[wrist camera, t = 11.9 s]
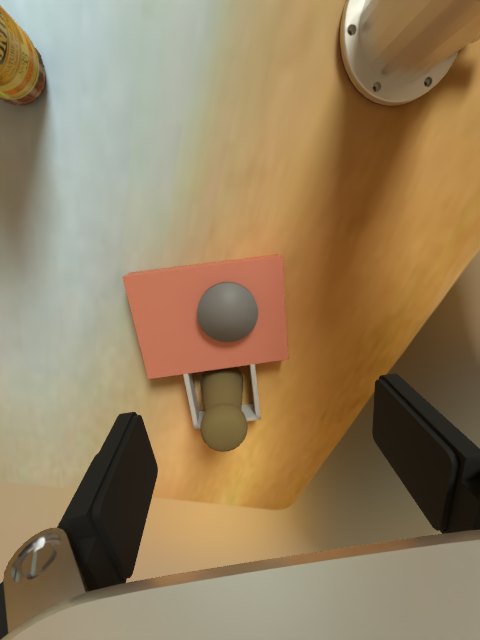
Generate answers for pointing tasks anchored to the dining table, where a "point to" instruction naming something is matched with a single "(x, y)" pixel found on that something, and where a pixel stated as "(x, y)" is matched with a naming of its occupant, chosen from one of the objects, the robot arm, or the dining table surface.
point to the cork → (223, 409)
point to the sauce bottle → (18, 64)
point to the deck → (210, 320)
